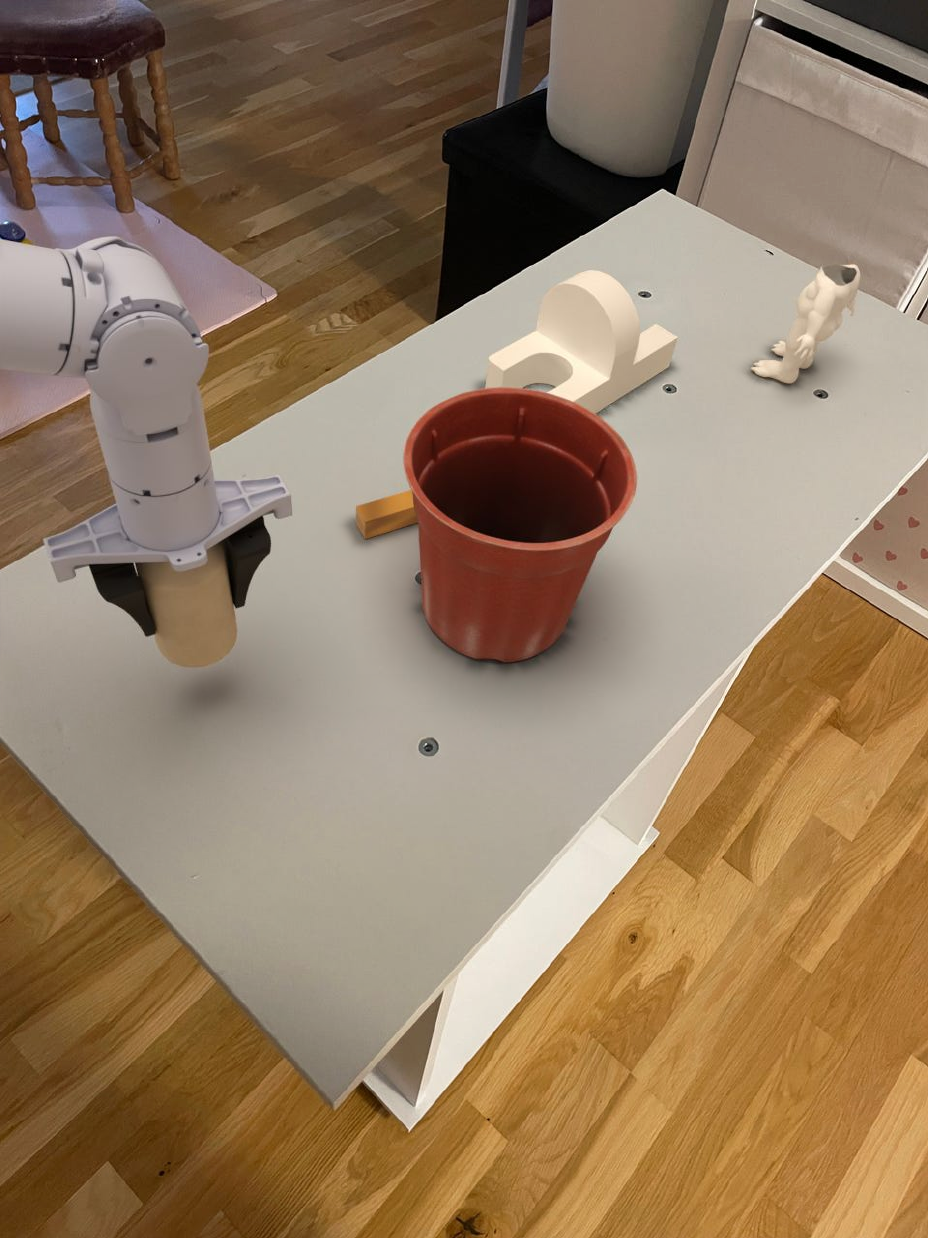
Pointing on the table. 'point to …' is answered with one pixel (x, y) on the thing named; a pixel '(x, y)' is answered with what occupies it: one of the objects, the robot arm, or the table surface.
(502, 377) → the block with arch cutout
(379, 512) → the fry stick
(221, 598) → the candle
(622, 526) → the table surface
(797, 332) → the toy creature
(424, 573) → the flower pot
